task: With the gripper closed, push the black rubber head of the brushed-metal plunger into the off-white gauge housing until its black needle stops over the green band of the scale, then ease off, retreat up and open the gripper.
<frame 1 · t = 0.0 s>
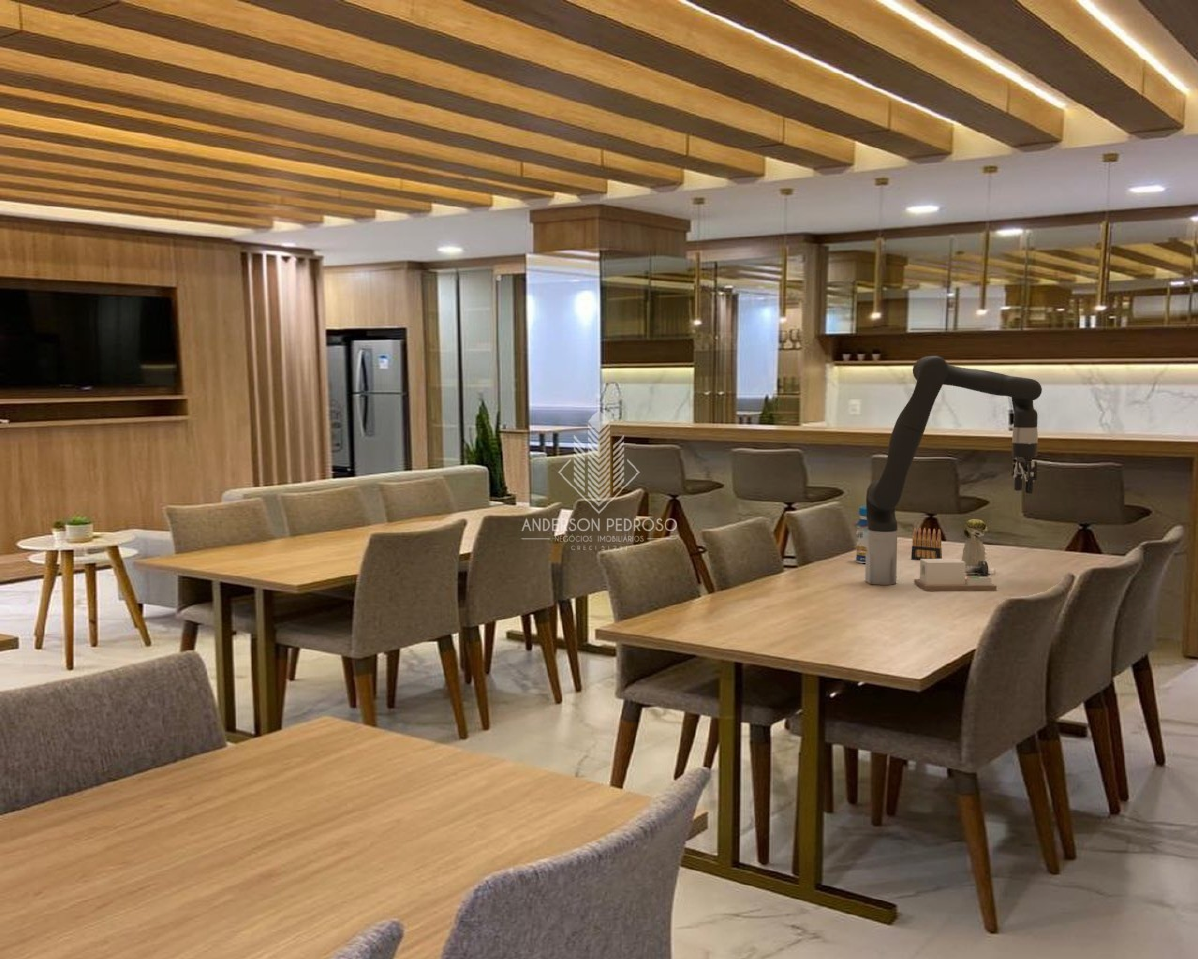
hand: (1023, 491, 337), 29 cm above the table, fingers open, 8 cm apart
figurine: (975, 573, 356), on the table
beverage bottle: (867, 562, 378), on the table
ammunition clip: (926, 561, 381), on the table
plunger: (965, 570, 330), point 5 cm above the table, slide at 0.0 cm
gauge housing: (954, 587, 332), on the table
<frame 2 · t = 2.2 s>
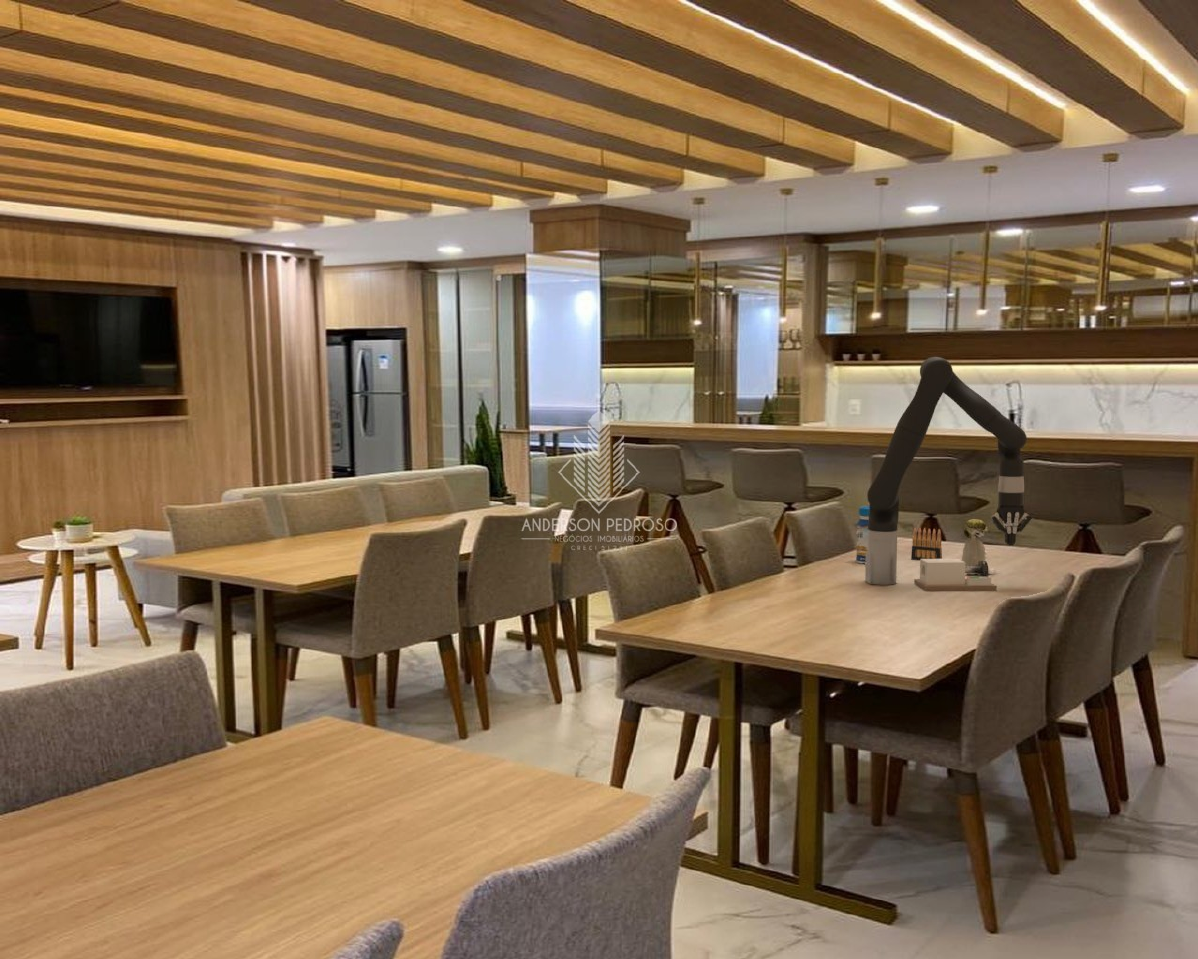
hand: (1010, 545, 330), 13 cm above the table, fingers closed
nothing on the table moved.
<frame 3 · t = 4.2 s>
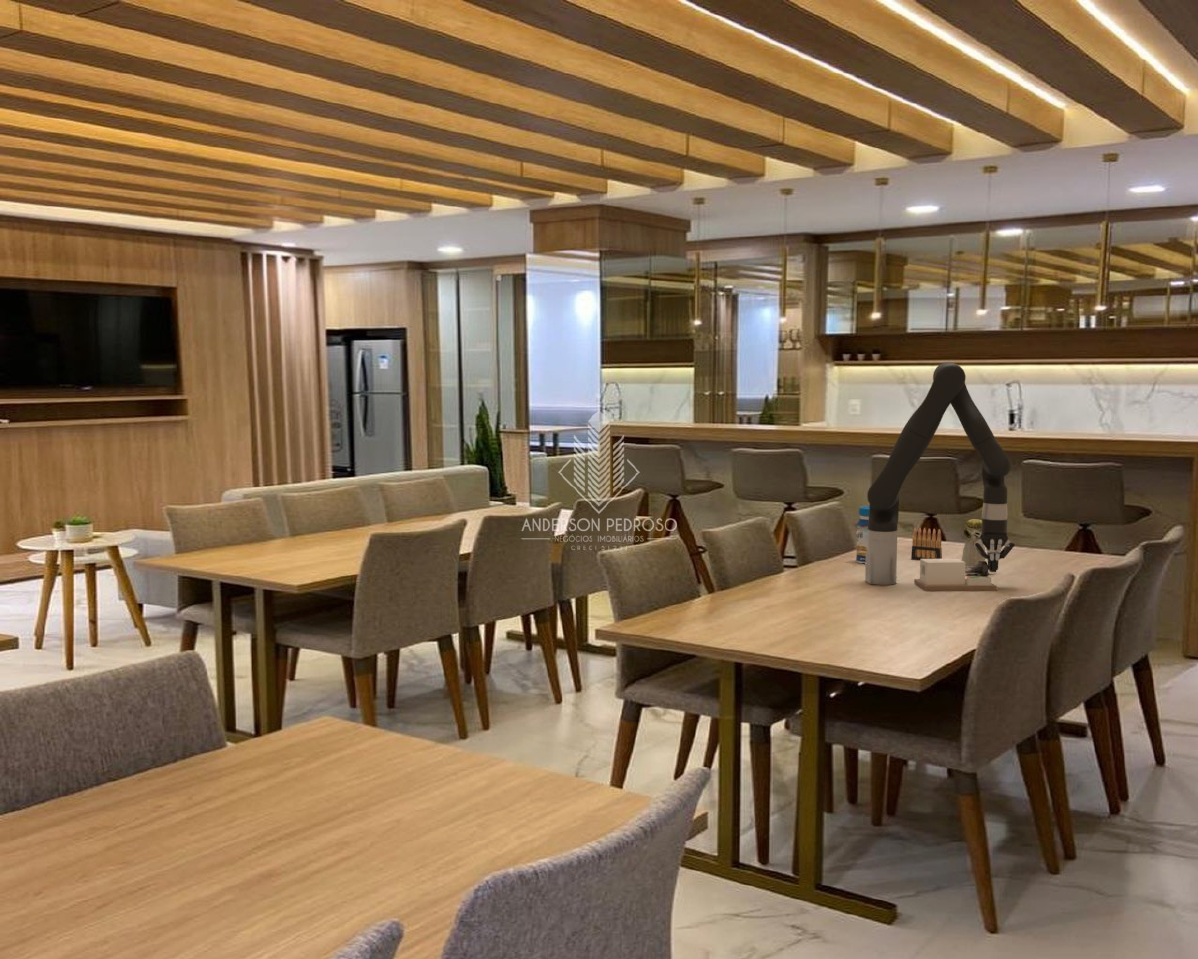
hand: (992, 571, 332), 5 cm above the table, fingers closed
plunger: (965, 570, 330), point 5 cm above the table, slide at 0.1 cm, touching gripper
everything else where it was.
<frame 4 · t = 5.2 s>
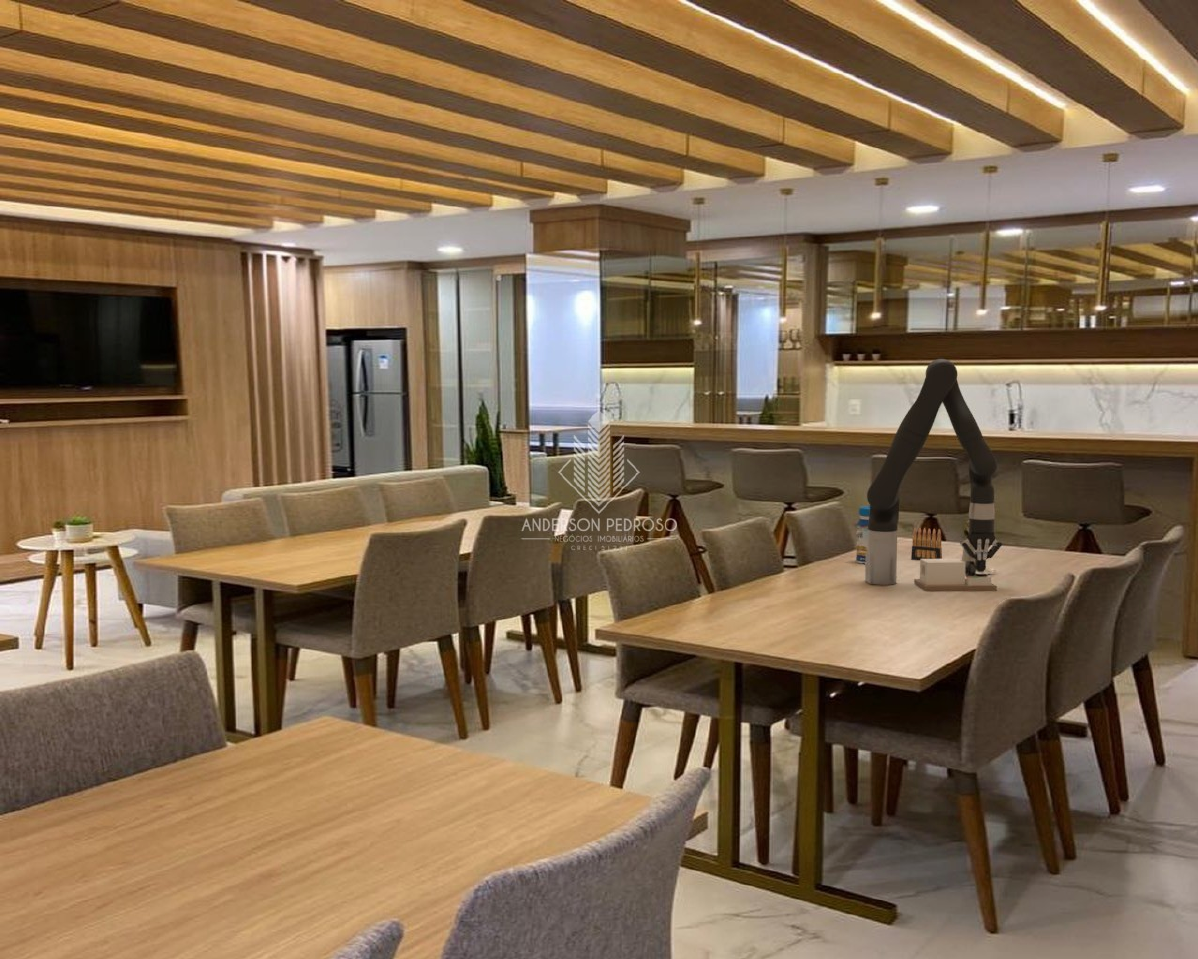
hand: (980, 571, 332), 5 cm above the table, fingers closed
plunger: (952, 570, 330), point 5 cm above the table, slide at 4.0 cm, touching gripper
everything else where it was.
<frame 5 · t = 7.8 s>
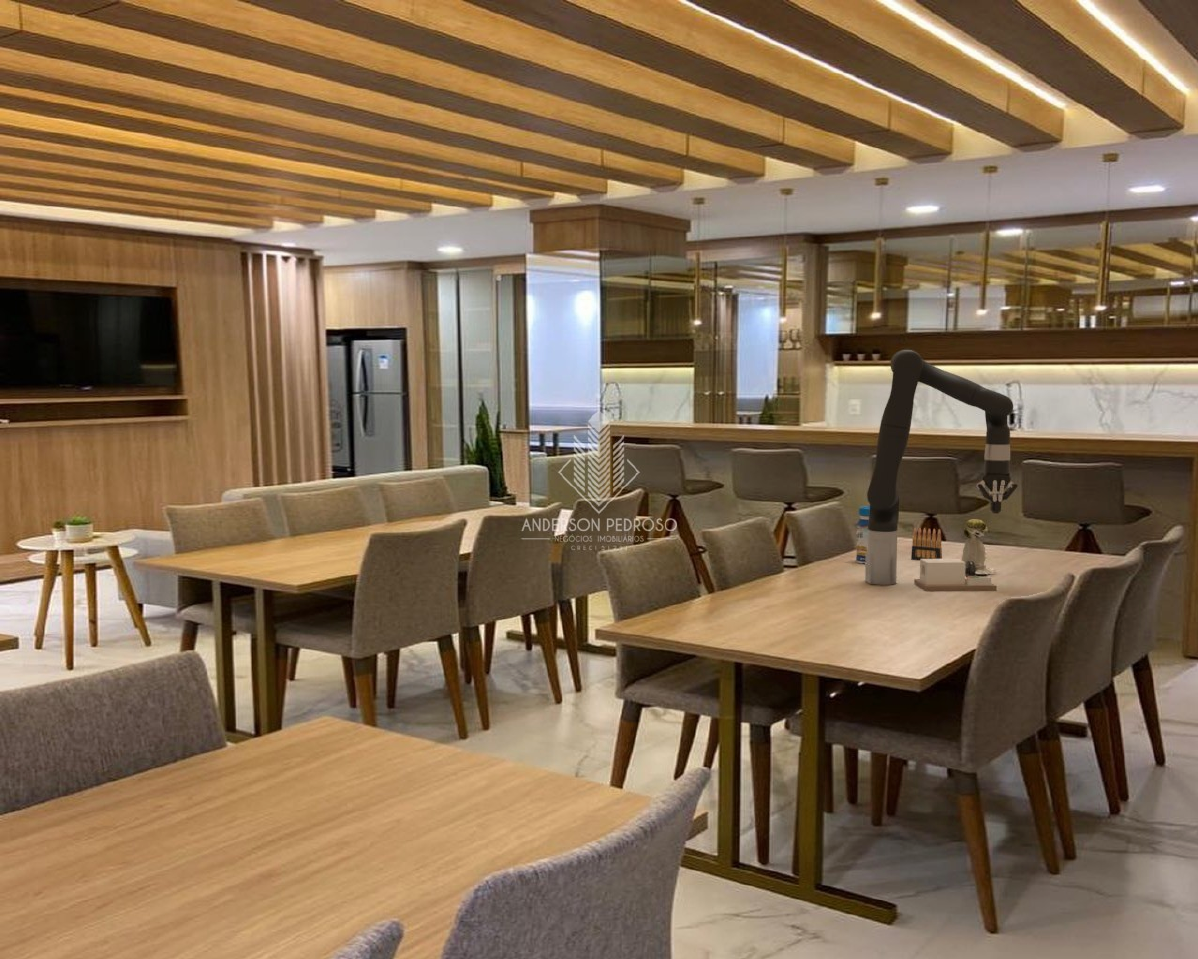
hand: (995, 513, 332), 23 cm above the table, fingers closed
plunger: (952, 570, 330), point 5 cm above the table, slide at 4.0 cm
everything else where it was.
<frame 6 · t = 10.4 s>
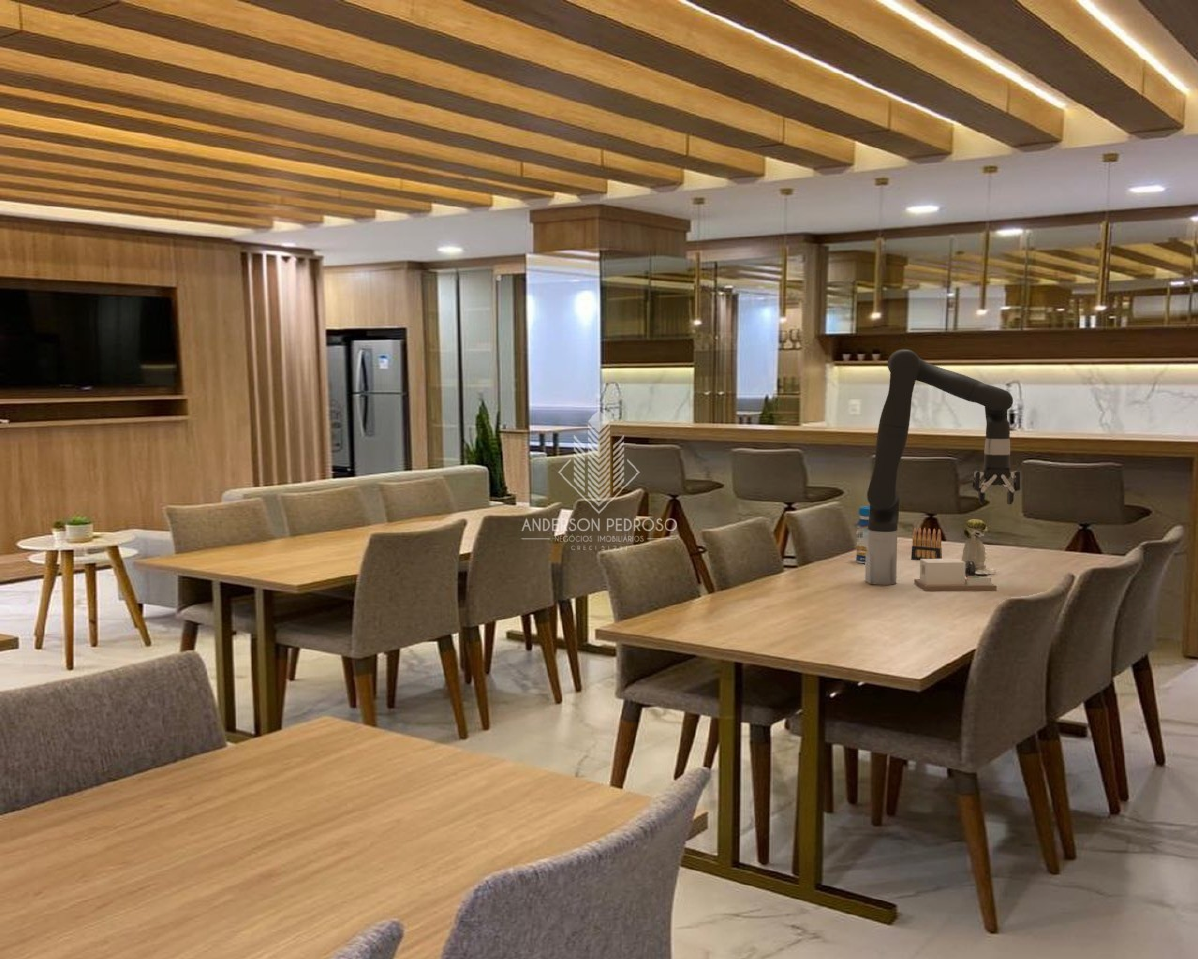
hand: (995, 504, 331), 26 cm above the table, fingers open, 8 cm apart
nothing on the table moved.
at the end: plunger slide at 4.0 cm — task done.
